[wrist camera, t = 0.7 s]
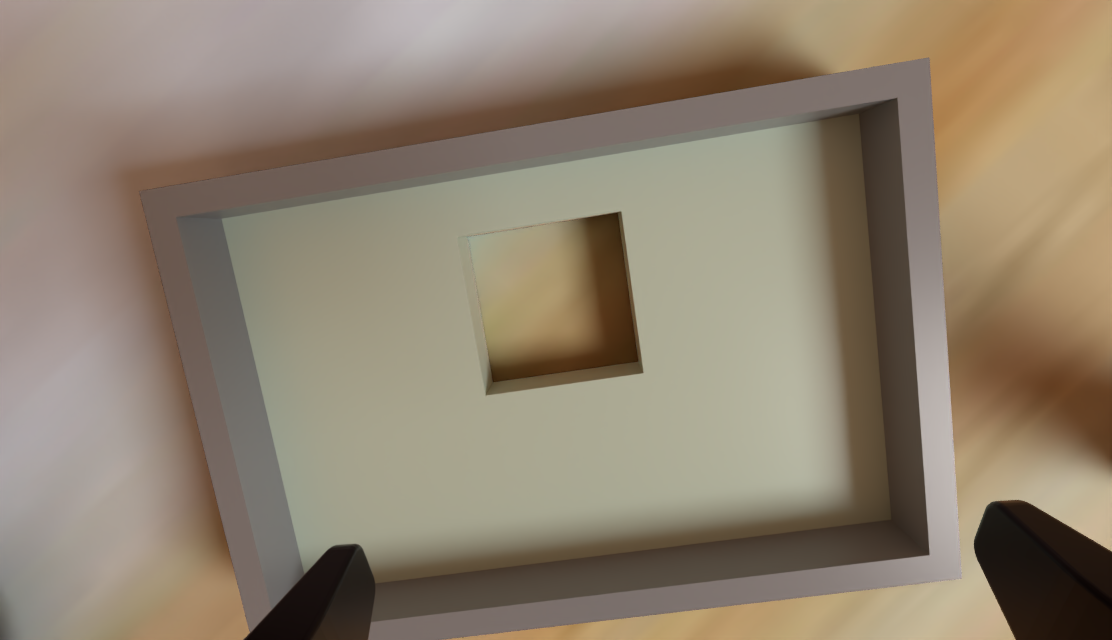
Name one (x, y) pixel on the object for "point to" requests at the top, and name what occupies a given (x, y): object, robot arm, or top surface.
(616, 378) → the tray
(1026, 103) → the top surface
